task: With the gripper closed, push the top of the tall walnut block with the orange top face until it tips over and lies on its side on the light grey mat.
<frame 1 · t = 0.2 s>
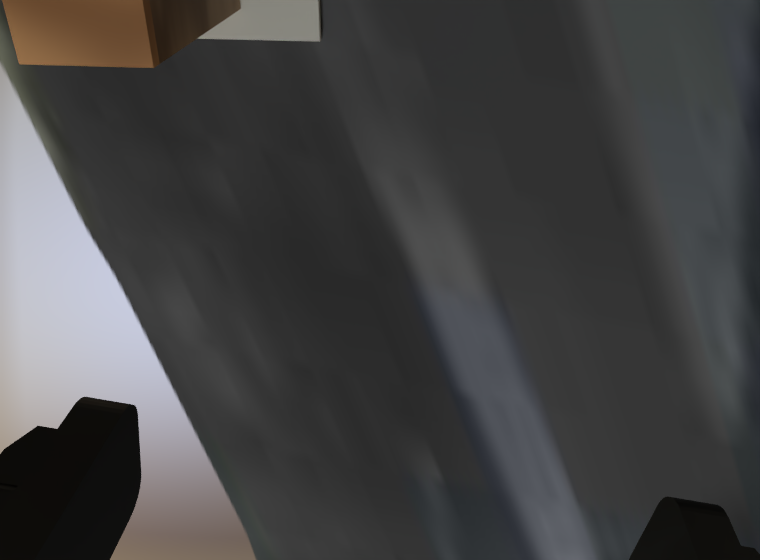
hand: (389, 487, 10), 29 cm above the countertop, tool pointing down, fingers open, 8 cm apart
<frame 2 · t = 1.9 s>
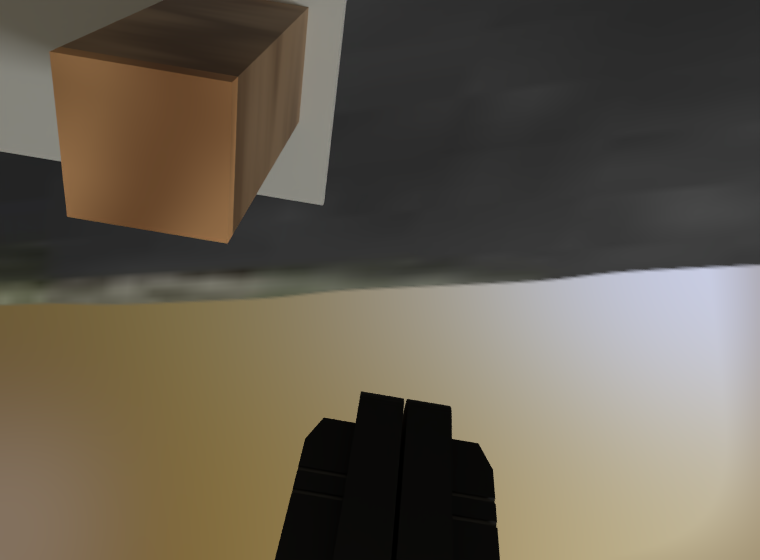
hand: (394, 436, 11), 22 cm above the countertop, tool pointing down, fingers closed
walnut block: (247, 57, 30), resting on grey mat
grey mat: (95, 28, 30), on the countertop
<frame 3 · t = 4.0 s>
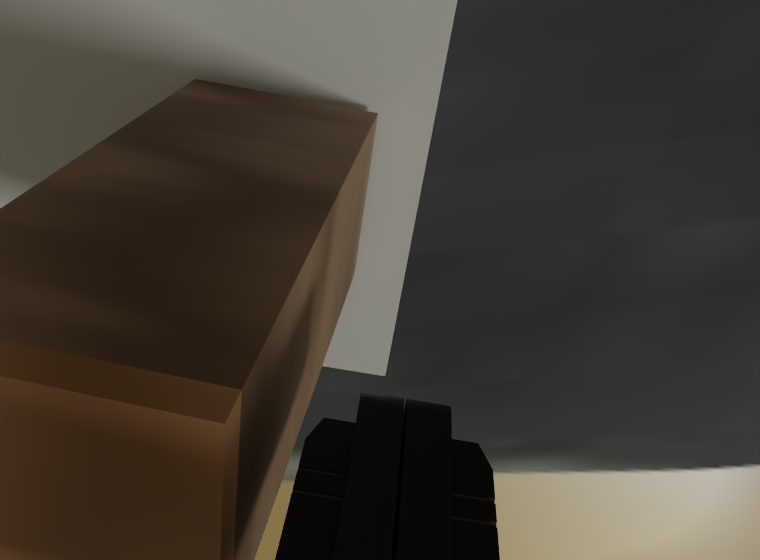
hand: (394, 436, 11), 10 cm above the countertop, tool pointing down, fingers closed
walnut block: (279, 182, 19), point 1 cm above the countertop, touching grey mat, gripper
grey mat: (48, 133, 20), on the countertop
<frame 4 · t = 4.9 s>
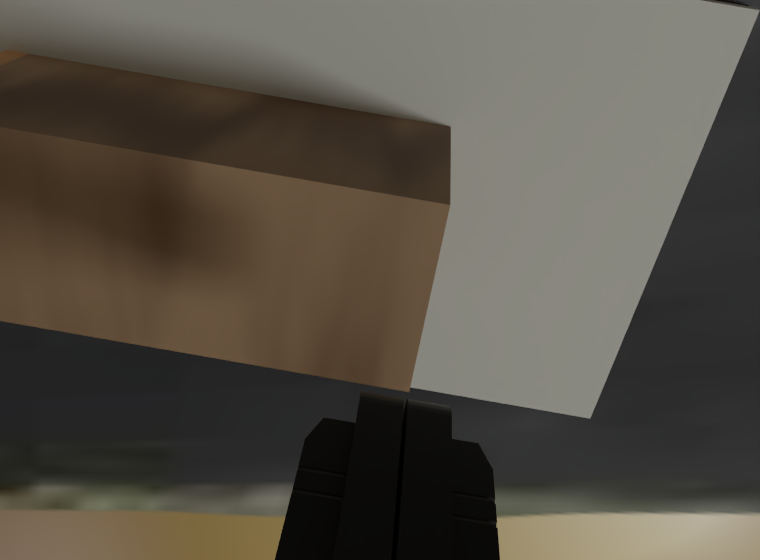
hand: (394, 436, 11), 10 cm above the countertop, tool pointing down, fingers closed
walnut block: (431, 252, 17), point 3 cm above the countertop, tilted 90°, touching grey mat
grey mat: (282, 177, 20), on the countertop
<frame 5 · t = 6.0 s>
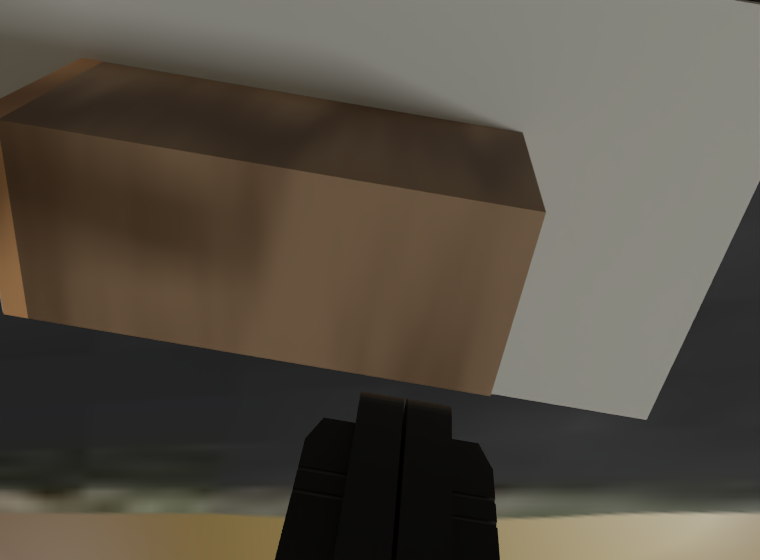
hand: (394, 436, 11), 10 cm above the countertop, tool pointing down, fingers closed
walnut block: (507, 257, 17), point 3 cm above the countertop, tilted 90°, touching grey mat
grey mat: (349, 183, 20), on the countertop
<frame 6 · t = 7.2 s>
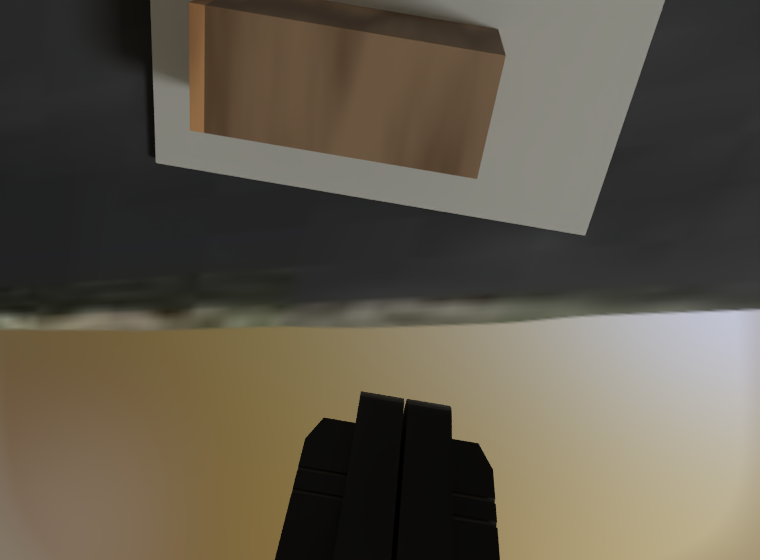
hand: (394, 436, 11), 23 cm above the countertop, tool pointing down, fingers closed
walnut block: (487, 102, 29), point 3 cm above the countertop, tilted 90°, touching grey mat
grey mat: (389, 67, 31), on the countertop
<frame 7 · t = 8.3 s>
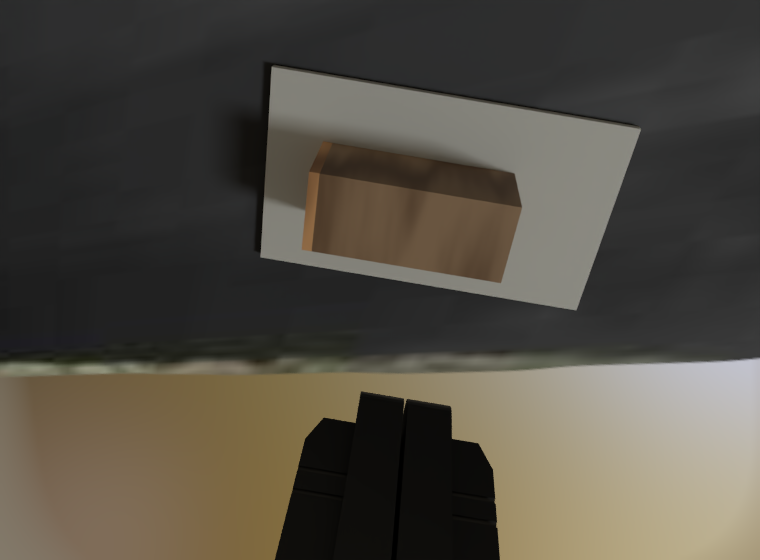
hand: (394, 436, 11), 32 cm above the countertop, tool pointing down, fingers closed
walnut block: (507, 227, 41), point 3 cm above the countertop, tilted 90°, touching grey mat
grey mat: (436, 194, 44), on the countertop
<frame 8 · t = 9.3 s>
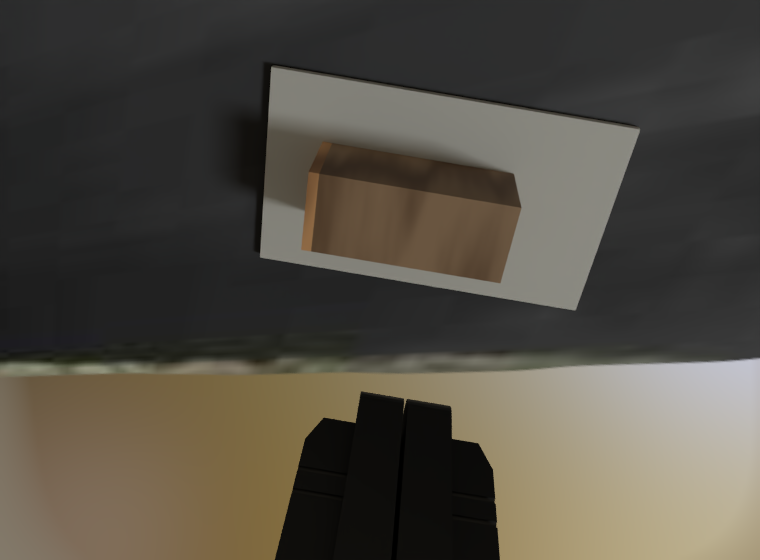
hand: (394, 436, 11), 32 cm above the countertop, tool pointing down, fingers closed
walnut block: (507, 227, 41), point 3 cm above the countertop, tilted 90°, touching grey mat
grey mat: (435, 195, 44), on the countertop
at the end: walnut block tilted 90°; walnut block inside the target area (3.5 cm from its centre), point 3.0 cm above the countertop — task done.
